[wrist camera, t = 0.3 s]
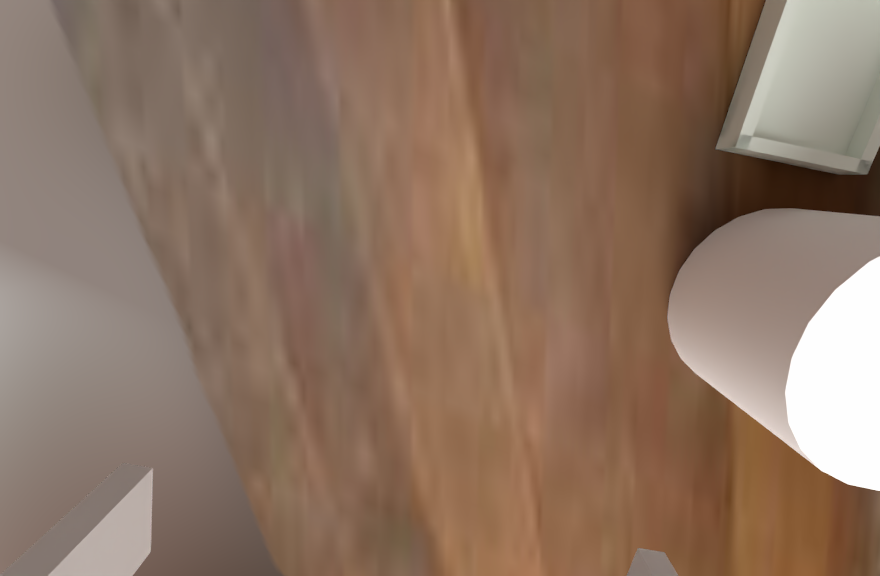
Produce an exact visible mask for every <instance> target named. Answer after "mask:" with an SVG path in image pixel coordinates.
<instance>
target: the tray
mask: <svg viewBox="0 0 880 576" xmlns="http://www.w3.org/2000/svg"><path fill="white" fill-rule="evenodd" d="M879 146H880V0H766V1H765V4H764V7H763V10H762V13H761V16H760V19H759V22H758V25H757V28H756V31H755V34H754V36H753V39H752V42H751V45H750V48H749V51H748V54H747V57H746V60H745V63H744V66H743V69H742V72H741V75H740V78H739V81H738V84H737V86H736V89H735V92H734V95H733V98H732V101H731V104H730V107H729V110H728V113H727V116H726V119H725V122H724V125H723V128H722V131H721V133H720V136H719V139H718V142H717V145H716V148H715V149H717V150H722V151H727V152H732V153H737V154H741V155H746V156H751V157H756V158H761V159H766V160H770V161H775V162H780V163H785V164H790V165H795V166H800V167H804V168H809V169H814V170H819V171H824V172H829V173H833V174H838V175H865V174H868V172H869V169H870V167H871V165H872V162H873V160H874V158H875V155H876V153H877V151H878V149H879Z"/></svg>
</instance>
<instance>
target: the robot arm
mask: <svg viewBox="0 0 880 576" xmlns="http://www.w3.org/2000/svg"><path fill="white" fill-rule="evenodd" d="M152 480H153V468H150V467H144V466H138V465H132V464H126V463H122V464H121V465H120V466H119V467H118V468H117V469H116V470H114V472H112V473H111V474H110V475H109V476H108V477H107V478H106V479H105V480H104V481H103V482H101V483H100V484H99V485H98V486H97V487H96V488H95V489H94V490H93V491H92V492H90V493H89V494H88V495H87V496H86V497H85V498H84V499H83V500H82V501H81V502H80V503H78V504H77V505H76V506H75V507H74V508H73V509H72V510H71V511H70V512H69V513H67V514H66V515H65V516H64V517H63V518H62V519H61V520H60V521H59V522H58V523H56V524H55V525H54V526H53V527H52V528H51V529H50V530H49V531H48V532H47V533H45V535H43V536H42V537H41V538H40V539H39V540H38V541H37V542H36V543H35V544H33V546H31V547H30V548H29V549H28V550H27V551H26V552H25V553H24V554H23V555H21V556H20V557H19V558H18V559H17V560H16V561H15V562H14V563H13V564H12V565H10V566H9V567H8V568H7V569H6V570H5V571H4V572H3V573H2V574H1V575H0V576H132V575H133V574H134V573H135V572H136V570H137V569H138V568H139V566H140V565H141V563H142V562H143V561H144V560H145V558H146V557H147V556H148V555H149V553H150V551H151V520H152V483H153V481H152ZM627 576H678V574H677V573H676V571H675V569H674V568H673V566H672V564H671V563H670V561H669V559H668V558H667V556H666V554H665V552H659V551H653V550H647V549H641V548H638V549H637V552H636V554H635V557H634V559H633V562H632V564H631V567H630V569H629V572H628V574H627Z"/></svg>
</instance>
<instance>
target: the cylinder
mask: <svg viewBox="0 0 880 576" xmlns="http://www.w3.org/2000/svg"><path fill="white" fill-rule="evenodd" d="M667 320H668V325H669V331H670V336H671V341H672V343H673V344H674V346H675V348H676V350H677V352H678V354H679V356H680V358H681V359H682V360H683V361H684V362H685V363H686V364H687V365H688V366H689V367H690V368H691V369H692V370H693V371H694V372H695V373H696V374H697V375H698V376H700V377H701V378H702V379H704V380H705V381H706V382H707V383H709V384H710V385H711V386H713V387H714V388H715V389H717V390H718V391H719V392H720V393H722V394H723V395H724V396H726V397H727V398H728V399H729V400H731V401H732V402H733V403H735V404H736V405H737V406H738V407H740V408H741V409H742V410H744V411H745V412H746V413H748V414H749V415H750V416H751V417H753V418H754V419H755V420H757V421H758V422H759V423H760V424H762V425H763V426H764V427H766V428H767V429H768V430H769V431H771V432H772V433H773V434H775V435H776V436H777V437H779V438H780V439H781V440H782V441H784V442H785V443H786V444H788V445H789V446H790V447H791V448H793V449H794V450H795V451H797V452H798V453H799V454H800V455H802V456H803V457H804V458H806V459H807V460H808V461H810V462H811V463H812V464H813V465H815V466H816V467H817V468H819V469H820V470H821V471H823V472H825V473H827V474H829V475H831V476H833V477H835V478H837V479H839V480H841V481H842V482H844V483H846V484H849V485H854V486H858V487H863V488H868V489H873V490H878V491H880V216H870V215H859V214H848V213H838V212H827V211H817V210H806V209H795V208H781V209H763V210H760V211H757V212H753V213H750V214H746V215H743V216H740V217H737V218H736V219H734V220H732V221H730V222H729V223H727V224H725V225H723V226H722V227H720V228H718V229H716V230H715V231H713V232H712V233H711V234H710V235H709V236H708V237H707V238H706V239H705V240H704V241H702V242H701V243H700V244H699V245H698V246H697V247H696V248H695V249H694V250H693V251H692V253H691V254H690V256H689V257H688V259H687V260H686V261H685V263H684V264H683V266H682V267H681V269H680V270H679V272H678V275H677V277H676V280H675V282H674V285H673V288H672V290H671V293H670V297H669V306H668V316H667Z"/></svg>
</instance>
